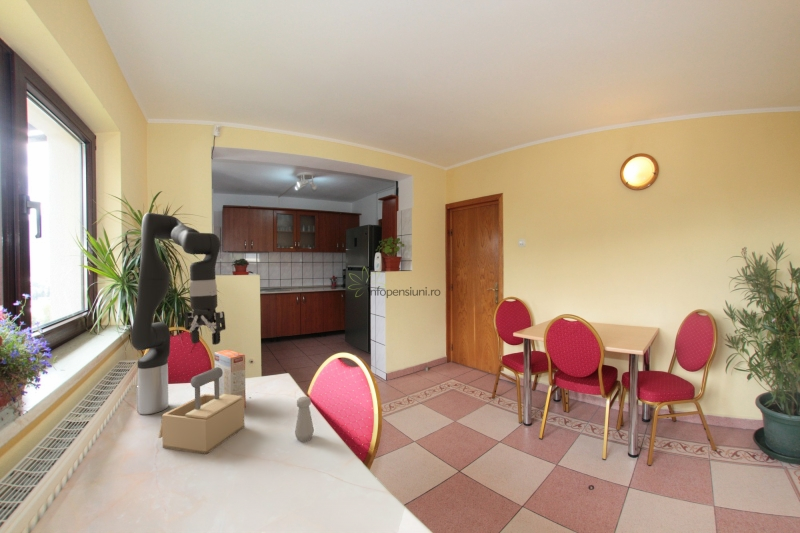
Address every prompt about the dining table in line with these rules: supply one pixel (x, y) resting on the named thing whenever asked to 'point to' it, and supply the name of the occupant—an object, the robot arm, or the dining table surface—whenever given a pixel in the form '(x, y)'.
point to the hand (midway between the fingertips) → (205, 343)
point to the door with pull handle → (219, 401)
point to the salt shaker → (304, 420)
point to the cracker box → (231, 373)
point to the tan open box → (200, 426)
